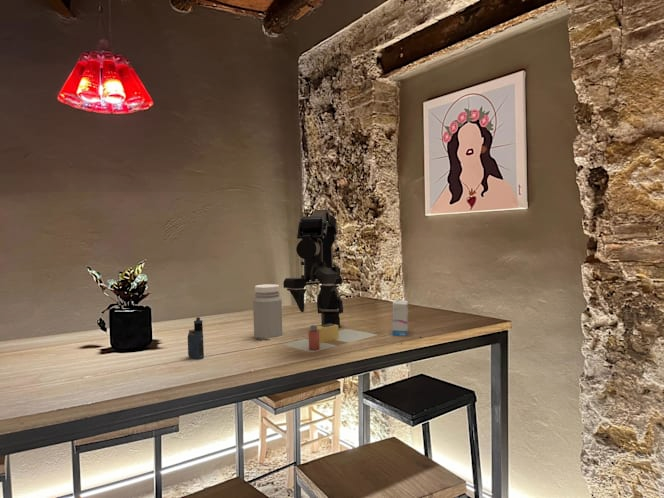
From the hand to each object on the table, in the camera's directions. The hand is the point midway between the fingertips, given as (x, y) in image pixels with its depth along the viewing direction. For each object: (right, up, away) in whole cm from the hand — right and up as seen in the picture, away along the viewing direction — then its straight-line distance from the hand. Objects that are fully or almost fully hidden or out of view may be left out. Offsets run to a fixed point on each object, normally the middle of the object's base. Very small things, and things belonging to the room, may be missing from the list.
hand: (314, 310), depth 144 cm
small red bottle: (0, -12, 0) cm, 12 cm away
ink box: (+29, -12, +20) cm, 37 cm away
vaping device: (-34, -14, -3) cm, 37 cm away
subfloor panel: (+5, -12, +12) cm, 18 cm away
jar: (-17, -12, +21) cm, 30 cm away
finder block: (+3, -11, +11) cm, 16 cm away
